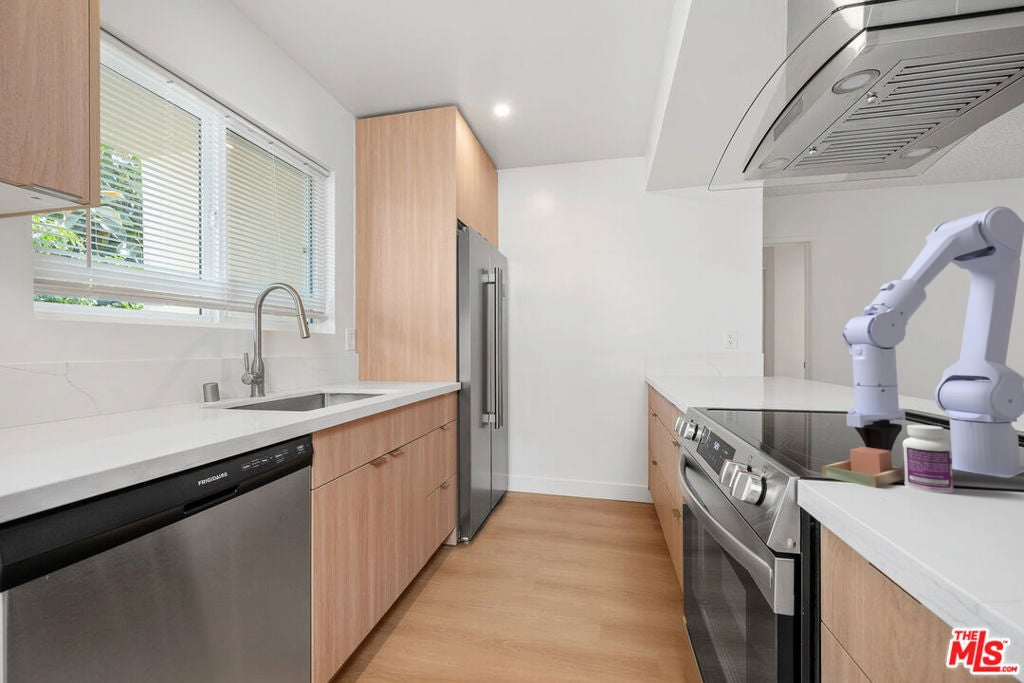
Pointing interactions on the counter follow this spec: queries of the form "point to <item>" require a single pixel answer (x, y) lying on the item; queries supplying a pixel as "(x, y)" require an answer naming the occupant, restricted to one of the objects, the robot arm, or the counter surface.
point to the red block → (870, 460)
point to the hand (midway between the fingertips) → (879, 466)
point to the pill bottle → (927, 460)
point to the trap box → (861, 475)
